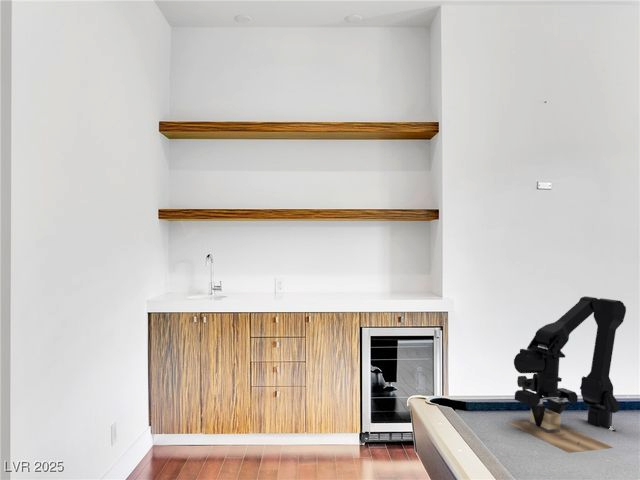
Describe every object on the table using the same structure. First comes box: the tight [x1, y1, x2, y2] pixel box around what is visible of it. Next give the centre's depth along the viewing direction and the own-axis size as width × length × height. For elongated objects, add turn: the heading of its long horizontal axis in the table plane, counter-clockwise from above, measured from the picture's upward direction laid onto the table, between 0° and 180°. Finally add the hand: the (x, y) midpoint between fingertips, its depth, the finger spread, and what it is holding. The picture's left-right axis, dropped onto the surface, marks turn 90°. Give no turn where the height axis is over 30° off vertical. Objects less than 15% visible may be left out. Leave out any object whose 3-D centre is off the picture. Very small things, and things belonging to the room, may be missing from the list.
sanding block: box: [529, 408, 562, 433], centre depth 147 cm, size 4×7×5 cm, turn 21°
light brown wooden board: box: [508, 420, 614, 454], centre depth 143 cm, size 16×22×1 cm
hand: (544, 425), depth 147 cm, fingers closed on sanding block, 4 cm apart
